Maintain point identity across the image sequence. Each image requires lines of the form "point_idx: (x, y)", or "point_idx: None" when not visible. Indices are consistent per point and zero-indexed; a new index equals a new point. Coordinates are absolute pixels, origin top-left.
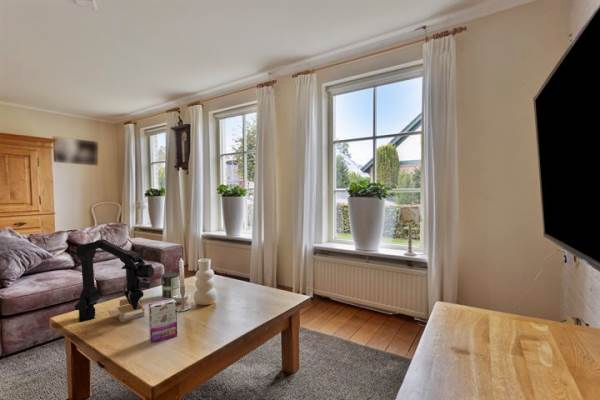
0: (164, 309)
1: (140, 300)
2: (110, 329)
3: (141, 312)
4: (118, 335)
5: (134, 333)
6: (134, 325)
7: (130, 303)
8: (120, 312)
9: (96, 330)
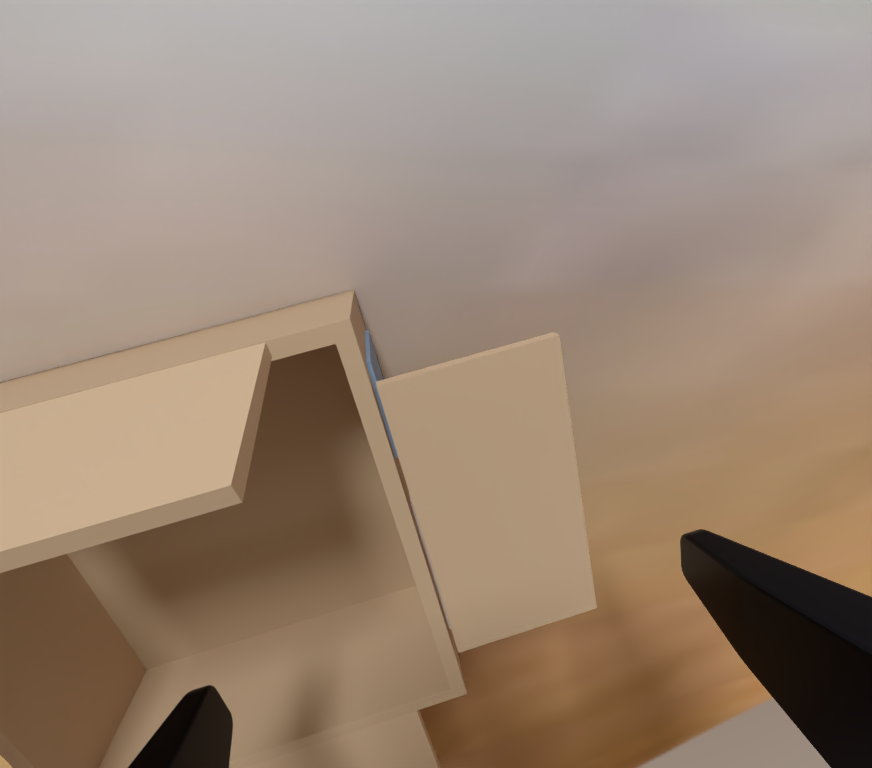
0: None
1: (62, 528)
2: (582, 632)
3: (561, 369)
4: (785, 536)
5: (860, 391)
6: (632, 411)
7: (218, 735)
8: (383, 712)
9: (528, 734)
